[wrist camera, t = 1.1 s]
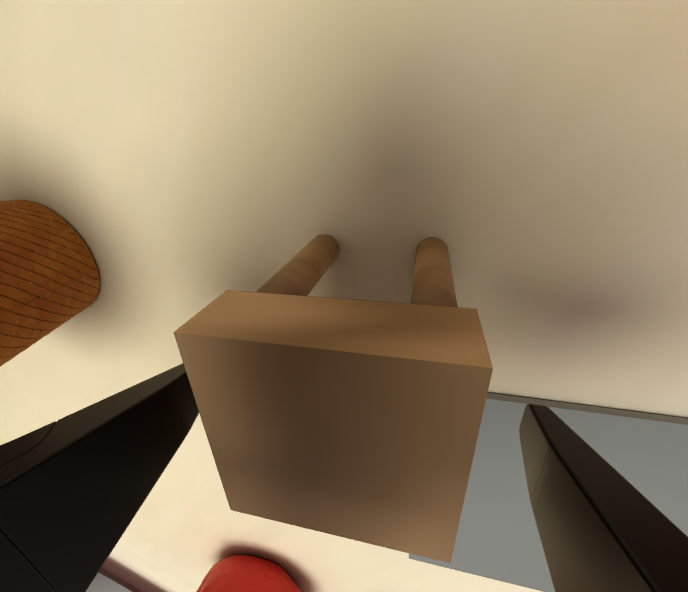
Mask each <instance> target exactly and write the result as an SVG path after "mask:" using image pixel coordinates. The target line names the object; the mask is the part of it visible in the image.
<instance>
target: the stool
mask: <svg viewBox="0 0 688 592" xmlns="http://www.w3.org/2000/svg"><path fill="white" fill-rule="evenodd" d="M337 255H338V244H337V242H336V241H335V240H334V239H333V238H332V237H331V236H328V235H319V236H317V237H315V238H314V239H313V240H312V241H311V242H310V243H309V244H308V245H307V246H306V247H305V248H304V249H302V250H301V251H300V252H299V253H298V254H297V255H296V256H295V257H294V258H293V259H292V260H291V261H290V262H288V263H287V264H286V265H285V266H284V267H283V268H282V269H281V270H280V271H279V272H278V273H277V274H275V275H274V276H273V277H272V278H271V279H270V280H269V281H268V282H267V283H266V284H265V285H264V286H262V287H261V288H260V289H259V290H258V291H257V292H244V291H231V290H227V291H226V292H225V293H223V294H222V295H221V296H219V297H218V298H217V299H216V300H214V301H213V302H212V303H210V304H209V305H208V306H207V307H205V308H204V309H203V310H201V311H200V312H199V313H198V314H196V315H195V316H194V317H193V318H191V319H190V320H189V321H187V322H186V323H185V324H184V325H182V326H181V327H180V328H178V329H177V330H176V331H175V332H174V335H175V338H176V342H177V345H178V348H179V351H180V354H181V357H182V360H183V363H184V366H185V369H186V373H187V376H188V379H189V382H190V385H191V388H192V391H193V394H194V397H195V401H196V404H197V407H198V410H199V413H200V416H201V419H202V422H203V425H204V429H205V432H206V435H207V438H208V441H209V444H210V447H211V450H212V453H213V456H214V460H215V463H216V466H217V469H218V472H219V475H220V478H221V481H222V484H223V488H224V491H225V494H226V497H227V500H228V503H229V506H230V509H231V510H233V511H237V512H242V513H246V514H250V515H254V516H258V517H262V518H266V519H270V520H275V521H279V522H283V523H287V524H291V525H295V526H299V527H303V528H307V529H312V530H316V531H320V532H324V533H328V534H332V535H336V536H340V537H345V538H349V539H353V540H357V541H361V542H365V543H369V544H373V545H378V546H382V547H386V548H390V549H394V550H398V551H402V552H406V553H410V554H415V555H419V556H423V557H427V558H431V559H435V560H439V561H443V562H448V563H451V559H452V554H453V550H454V545H455V541H456V536H457V531H458V527H459V522H460V517H461V513H462V508H463V503H464V499H465V494H466V490H467V485H468V480H469V476H470V471H471V466H472V462H473V457H474V452H475V448H476V443H477V439H478V434H479V429H480V425H481V420H482V415H483V411H484V406H485V401H486V397H487V392H488V388H489V383H490V378H491V374H492V369H493V367H492V364H491V360H490V356H489V353H488V349H487V345H486V342H485V338H484V335H483V331H482V327H481V324H480V320H479V316H478V313H477V309H470V308H457V302H456V296H455V290H454V284H453V278H452V272H451V266H450V260H449V254H448V249H447V246H446V244H445V243H444V242H443V241H442V240H440V239H437V238H428V239H426V240H424V241H422V242H421V243H420V244H419V246H418V248H417V251H416V261H415V271H414V281H413V291H412V301H411V304H404V303H391V302H377V301H364V300H351V299H337V298H324V297H311V296H307V295H308V294H309V293H310V291H311V290H312V289H313V287H314V286H315V285H316V283H317V282H318V281H319V279H320V278H321V277H322V275H323V274H324V273H325V271H326V270H327V269H328V267H329V266H330V265H331V263H332V262H333V261H334V259H335V258H336V256H337Z"/></svg>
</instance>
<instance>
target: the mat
mask: <svg viewBox="0 0 688 592" xmlns="http://www.w3.org/2000/svg"><path fill="white" fill-rule="evenodd" d="M529 403H533V404H541V405H545V406H547V407H549V408H550V409H551V410H552V411H553V412H554V413H555V414H556V415H557V416H558V417H559V418H561V419H562V420H563V421H564V422H565V423H566V424H567V425H568V426H569V427H570V428H571V429H572V430H574V431H575V432H576V433H577V434H578V435H579V436H580V437H581V438H582V439H583V440H584V441H585V442H586V443H588V444H589V445H590V446H591V447H592V448H593V449H594V450H595V451H596V452H597V453H598V454H599V455H600V456H602V457H603V458H604V459H605V460H606V461H607V462H608V463H609V464H610V465H611V466H612V467H613V468H614V469H616V470H617V471H618V472H619V473H620V474H621V475H622V476H623V477H624V478H625V479H626V480H627V481H629V482H630V483H631V484H632V485H633V486H634V487H635V488H636V489H637V490H638V491H639V492H640V493H641V494H643V495H644V496H645V497H646V498H647V499H648V500H649V501H650V502H651V503H652V504H653V505H654V506H655V507H657V508H658V509H659V510H660V511H661V512H662V513H663V514H664V515H665V516H666V517H667V518H668V519H669V520H671V521H672V522H673V523H674V524H675V525H676V526H677V527H678V528H679V529H680V530H681V531H682V532H684V533H685V534H686V535H687V536H688V418H681V417H674V416H666V415H658V414H650V413H642V412H634V411H627V410H619V409H611V408H603V407H595V406H588V405H580V404H572V403H564V402H556V401H549V400H541V399H533V398H525V397H517V396H509V395H502V394H494V393H487V397H486V401H485V406H484V411H483V415H482V420H481V425H480V429H479V434H478V439H477V443H476V448H475V452H474V457H473V462H472V466H471V471H470V476H469V480H468V485H467V490H466V494H465V499H464V503H463V508H462V513H461V517H460V522H459V527H458V531H457V536H456V541H455V545H454V550H453V554H452V559H451V563H448V562H443V561H439V560H435V559H431V558H427V557H423V556H419V555H415V554H410V553H409V558H410V559H414V560H418V561H422V562H426V563H430V564H434V565H438V566H442V567H446V568H450V569H454V570H458V571H462V572H466V573H470V574H475V575H479V576H483V577H487V578H491V579H495V580H499V581H503V582H507V583H511V584H515V585H519V586H523V587H527V588H531V589H535V590H540V591H544V592H555V590H554V586H553V583H552V579H551V575H550V572H549V568H548V564H547V561H546V557H545V554H544V550H543V546H542V543H541V539H540V535H539V532H538V528H537V525H536V521H535V517H534V514H533V510H532V506H531V502H530V498H529V492H528V487H527V480H526V474H525V468H524V462H523V455H522V449H521V443H520V436H519V428H520V423H521V420H522V417H523V413H524V410H525V407H526V405H527V404H529Z"/></svg>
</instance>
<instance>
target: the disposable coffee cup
mask: <svg viewBox="0 0 688 592" xmlns="http://www.w3.org/2000/svg"><path fill="white" fill-rule="evenodd" d="M99 289H100V280H99V273H98V269H97V266H96V264H95V261H94V259H93V257H92V254H91V253H90V251H89V249H88V247H87V245H86V244H85V243H84V241H83V240H82V239H81V237H80V236H79V235H78V233H77V232H76V231H75V230H74V229H73V228H72V227H71V226H70V225H69V224H68V223H67V222H66V221H65V220H64V219H62V218H61V217H60V216H59V215H58V214H56V213H55V212H53V211H51V210H50V209H48V208H47V207H44V206H42V205H40V204H38V203H35V202H31V201H27V200H13V201H0V366H2V365H3V364H4V363H6V362H8V361H9V360H11V359H12V358H14V357H15V356H16V355H18V354H19V353H20V352H23V351H24V350H26V349H27V348H28V347H30V346H31V345H32V344H34V343H36V342H37V341H38V340H40V339H41V338H43V337H44V336H46V335H47V334H49V333H50V332H52V331H53V330H54V329H56V328H58V327H59V326H61V325H62V324H63V323H65V322H66V321H68V320H69V319H71V318H72V317H74V316H75V315H77V314H78V313H80V312H81V311H83V310H84V309H85V308H87V307H89V306H91V304H92V303H93V302H94V301H95V300H96V298H97V296H98V294H99Z"/></svg>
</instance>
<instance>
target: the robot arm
mask: <svg viewBox="0 0 688 592" xmlns="http://www.w3.org/2000/svg"><path fill="white" fill-rule="evenodd" d="M198 414H199V410H198V407H197V404H196V401H195V397H194V394H193V391H192V388H191V385H190V382H189V379H188V376H187V373H186V369H185V366H184V363H183V364H181V365H178V366H176V367H174V368H172V369H170V370H167V371H165V372H163V373H161V374H159V375H156V376H154V377H152V378H150V379H148V380H145V381H143V382H141V383H139V384H137V385H134V386H132V387H130V388H128V389H126V390H123V391H121V392H119V393H117V394H115V395H112V396H110V397H108V398H106V399H104V400H101V401H99V402H97V403H95V404H93V405H90V406H88V407H86V408H84V409H82V410H79V411H77V412H75V413H73V414H71V415H68V416H66V417H64V418H62V419H60V420H58V421H57V422H53V423H51V424H48V425H46V426H44V427H42V428H40V429H37V430H35V431H33V432H31V433H28V434H26V435H24V436H21V437H19V438H17V439H15V440H12V441H10V442H8V443H5V444H3V445H0V592H85V591H86V590H87V589H88V587H89V585H90V584H91V582H92V581H93V579H94V578H95V576H96V575H97V573H98V572H99V570H100V569H101V567H102V565H103V564H104V562H105V561H106V559H107V558H108V556H109V555H110V553H111V552H112V550H113V548H114V547H115V545H116V544H117V542H118V541H119V539H120V538H121V536H122V535H123V533H124V532H125V530H126V528H127V527H128V525H129V524H130V522H131V521H132V519H133V518H134V516H135V515H136V513H137V511H138V510H139V508H140V507H141V505H142V504H143V502H144V501H145V499H146V498H147V496H148V495H149V493H150V491H151V490H152V488H153V487H154V485H155V484H156V482H157V481H158V479H159V478H160V476H161V474H162V473H163V471H164V470H165V468H166V467H167V465H168V464H169V462H170V461H171V459H172V458H173V456H174V454H175V453H176V451H177V450H178V448H179V447H180V445H181V444H182V442H183V441H184V439H185V437H186V436H187V434H188V432H189V431H190V429H191V427H192V425H193V423H194V421H195V419H196V418H197V416H198ZM519 436H520V443H521V449H522V455H523V462H524V468H525V474H526V480H527V487H528V492H529V498H530V502H531V506H532V510H533V514H534V517H535V521H536V525H537V528H538V532H539V535H540V539H541V543H542V546H543V550H544V554H545V557H546V561H547V564H548V568H549V572H550V575H551V579H552V583H553V586H554V590H555V592H688V536H687V535H686V534H685V533H684V532H682V531H681V530H680V529H679V528H678V527H677V526H676V525H675V524H674V523H673V522H672V521H671V520H669V519H668V518H667V517H666V516H665V515H664V514H663V513H662V512H661V511H660V510H659V509H658V508H657V507H655V506H654V505H653V504H652V503H651V502H650V501H649V500H648V499H647V498H646V497H645V496H644V495H643V494H641V493H640V492H639V491H638V490H637V489H636V488H635V487H634V486H633V485H632V484H631V483H630V482H629V481H627V480H626V479H625V478H624V477H623V476H622V475H621V474H620V473H619V472H618V471H617V470H616V469H614V468H613V467H612V466H611V465H610V464H609V463H608V462H607V461H606V460H605V459H604V458H603V457H602V456H600V455H599V454H598V453H597V452H596V451H595V450H594V449H593V448H592V447H591V446H590V445H589V444H588V443H586V442H585V441H584V440H583V439H582V438H581V437H580V436H579V435H578V434H577V433H576V432H575V431H574V430H572V429H571V428H570V427H569V426H568V425H567V424H566V423H565V422H564V421H563V420H562V419H561V418H559V417H558V416H557V415H556V414H555V413H554V412H553V411H552V410H551V409H550V408H549V407H547V406H545V405H541V404H533V403H529V404H527V405H526V407H525V410H524V413H523V417H522V420H521V423H520V428H519Z"/></svg>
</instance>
